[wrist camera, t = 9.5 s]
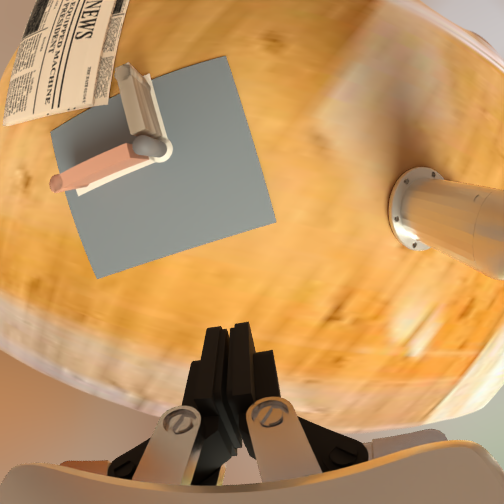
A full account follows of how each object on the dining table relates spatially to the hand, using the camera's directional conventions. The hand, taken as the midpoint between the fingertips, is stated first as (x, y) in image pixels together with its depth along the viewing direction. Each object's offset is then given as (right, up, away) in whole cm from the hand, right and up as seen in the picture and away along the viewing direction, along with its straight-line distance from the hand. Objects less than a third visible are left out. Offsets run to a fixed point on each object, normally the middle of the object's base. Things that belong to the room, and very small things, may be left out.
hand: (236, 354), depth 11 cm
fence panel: (-16, +15, +20) cm, 29 cm away
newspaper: (-26, +41, +12) cm, 50 cm away
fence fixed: (-12, +22, +19) cm, 31 cm away
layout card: (-12, +15, +21) cm, 28 cm away
